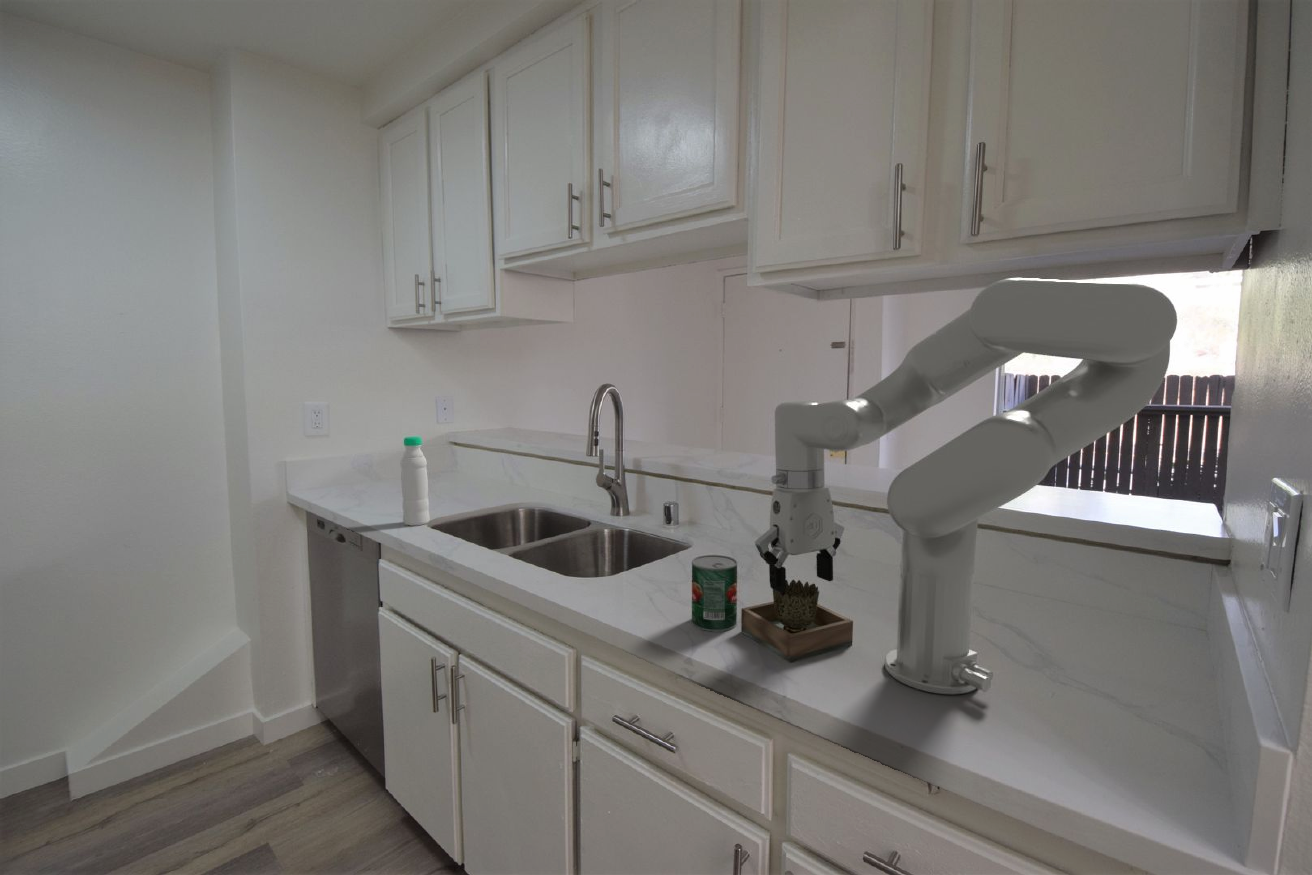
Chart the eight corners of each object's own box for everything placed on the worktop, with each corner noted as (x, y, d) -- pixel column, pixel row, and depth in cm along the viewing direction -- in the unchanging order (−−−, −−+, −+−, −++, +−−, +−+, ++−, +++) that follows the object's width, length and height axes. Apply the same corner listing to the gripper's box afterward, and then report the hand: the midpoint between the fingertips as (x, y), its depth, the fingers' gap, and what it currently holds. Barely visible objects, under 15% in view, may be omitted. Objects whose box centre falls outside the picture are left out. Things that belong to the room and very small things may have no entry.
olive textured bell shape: (818, 646, 97) (820, 596, 96) (770, 641, 98) (771, 593, 98) (817, 626, 104) (818, 580, 103) (772, 623, 106) (773, 577, 105)
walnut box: (852, 645, 99) (853, 620, 99) (790, 662, 93) (790, 636, 93) (799, 617, 110) (800, 595, 110) (741, 631, 104) (741, 608, 104)
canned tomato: (684, 617, 110) (684, 557, 109) (724, 611, 113) (724, 552, 112) (702, 635, 103) (703, 570, 102) (745, 628, 106) (745, 565, 104)
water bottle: (423, 519, 184) (419, 435, 181) (433, 523, 179) (429, 437, 176) (399, 523, 179) (395, 437, 177) (409, 527, 174) (404, 439, 171)
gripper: (771, 488, 91) (773, 601, 93) (857, 476, 99) (858, 581, 101) (741, 482, 98) (744, 588, 99) (824, 471, 106) (826, 569, 107)
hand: (801, 584), depth 100 cm, fingers open, 9 cm apart
